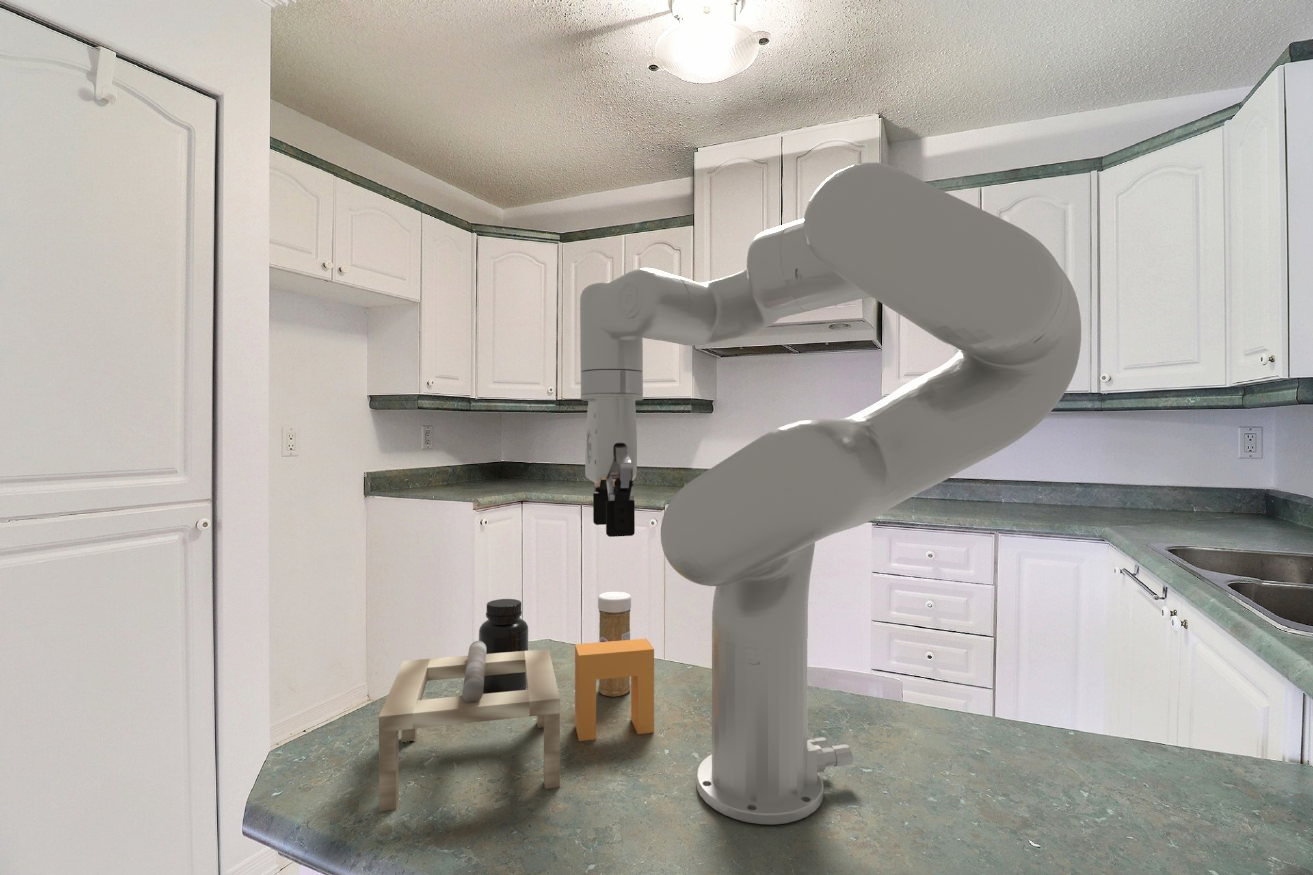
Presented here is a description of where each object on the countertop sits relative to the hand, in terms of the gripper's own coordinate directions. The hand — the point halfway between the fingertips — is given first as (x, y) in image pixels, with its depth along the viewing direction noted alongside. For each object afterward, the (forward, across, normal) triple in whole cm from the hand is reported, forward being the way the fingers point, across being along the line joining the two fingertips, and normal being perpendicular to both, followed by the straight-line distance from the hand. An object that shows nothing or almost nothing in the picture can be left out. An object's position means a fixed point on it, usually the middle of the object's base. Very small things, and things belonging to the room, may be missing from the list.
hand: (612, 529), depth 76 cm
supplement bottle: (+24, -16, -13) cm, 32 cm away
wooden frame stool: (+24, +3, -16) cm, 29 cm away
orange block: (+24, 0, 0) cm, 24 cm away
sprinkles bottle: (+24, -11, +2) cm, 27 cm away
